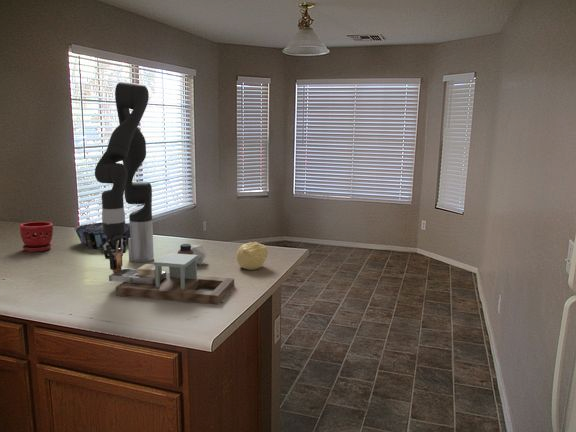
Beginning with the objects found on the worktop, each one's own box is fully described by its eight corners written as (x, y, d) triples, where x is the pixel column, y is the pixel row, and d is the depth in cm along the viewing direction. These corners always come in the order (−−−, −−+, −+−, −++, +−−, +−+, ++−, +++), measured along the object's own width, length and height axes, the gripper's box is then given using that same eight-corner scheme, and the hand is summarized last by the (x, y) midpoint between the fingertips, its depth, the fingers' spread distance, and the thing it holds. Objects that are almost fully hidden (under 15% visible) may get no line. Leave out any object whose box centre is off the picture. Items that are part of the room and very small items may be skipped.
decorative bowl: (101, 257, 211) (101, 236, 209) (62, 244, 225) (61, 224, 222) (145, 246, 233) (145, 226, 231) (107, 234, 246) (107, 215, 244)
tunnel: (154, 286, 161) (153, 262, 159) (169, 276, 172) (168, 253, 171) (185, 289, 159) (184, 264, 157) (198, 278, 170) (197, 255, 169)
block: (138, 282, 165) (137, 268, 164) (146, 277, 171) (145, 263, 170) (154, 283, 164) (153, 269, 163) (162, 278, 170) (161, 264, 169)
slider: (106, 280, 165) (105, 255, 164) (120, 272, 174) (118, 249, 172) (155, 284, 162) (154, 259, 160) (166, 276, 171) (165, 252, 169)
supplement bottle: (180, 276, 182) (179, 247, 180) (176, 271, 187) (175, 243, 185) (195, 274, 185) (195, 245, 183) (191, 269, 190) (190, 242, 188)
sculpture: (251, 273, 187) (251, 247, 185) (231, 267, 195) (230, 241, 193) (271, 267, 195) (271, 242, 193) (251, 261, 203) (251, 237, 201)
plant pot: (45, 253, 210) (43, 226, 208) (15, 252, 210) (13, 226, 208) (59, 246, 223) (58, 221, 220) (32, 245, 223) (30, 220, 221)
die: (195, 269, 193) (209, 249, 195) (178, 258, 194) (191, 238, 195) (199, 270, 201) (212, 251, 203) (182, 259, 202) (195, 240, 203)
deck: (116, 295, 160) (115, 286, 160) (141, 278, 178) (141, 271, 177) (218, 304, 154) (218, 295, 154) (234, 286, 172) (234, 278, 171)
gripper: (114, 216, 173) (117, 262, 176) (92, 223, 159) (95, 273, 163) (133, 217, 172) (135, 263, 175) (112, 224, 158) (115, 274, 161)
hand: (116, 267), depth 169 cm, fingers open, 3 cm apart
